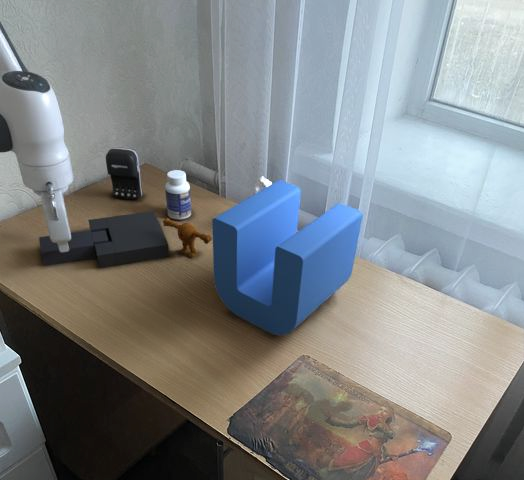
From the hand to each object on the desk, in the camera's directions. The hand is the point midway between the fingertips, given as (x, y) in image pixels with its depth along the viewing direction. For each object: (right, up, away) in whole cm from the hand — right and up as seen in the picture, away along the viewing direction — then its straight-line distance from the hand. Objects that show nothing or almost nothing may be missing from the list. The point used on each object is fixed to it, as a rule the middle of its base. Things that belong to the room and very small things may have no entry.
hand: (62, 237), depth 107 cm
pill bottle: (+21, +8, +15) cm, 27 cm away
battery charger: (+8, +13, +20) cm, 25 cm away
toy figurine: (+25, -3, +4) cm, 25 cm away
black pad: (+12, 0, +6) cm, 13 cm away
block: (+44, -13, -6) cm, 46 cm away
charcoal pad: (+2, -3, +3) cm, 4 cm away
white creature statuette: (+39, +4, +12) cm, 41 cm away
